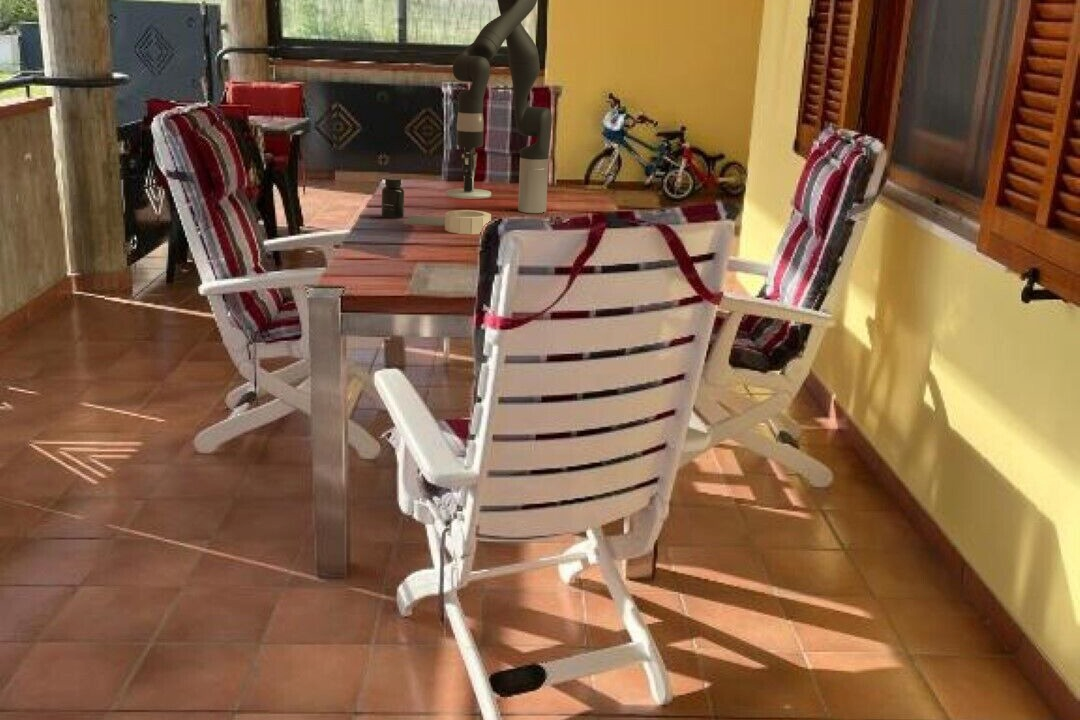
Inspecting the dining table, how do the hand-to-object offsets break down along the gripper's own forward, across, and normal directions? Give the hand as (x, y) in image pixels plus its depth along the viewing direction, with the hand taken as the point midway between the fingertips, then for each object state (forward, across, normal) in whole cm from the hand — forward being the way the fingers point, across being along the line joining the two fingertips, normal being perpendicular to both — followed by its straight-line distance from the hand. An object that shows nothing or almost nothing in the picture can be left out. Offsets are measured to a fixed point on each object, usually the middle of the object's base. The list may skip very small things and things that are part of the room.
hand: (468, 189), depth 303 cm
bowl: (+12, 0, 0) cm, 12 cm away
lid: (+2, 0, 0) cm, 2 cm away
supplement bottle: (+12, +15, +25) cm, 32 cm away
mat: (+12, +11, +13) cm, 21 cm away
